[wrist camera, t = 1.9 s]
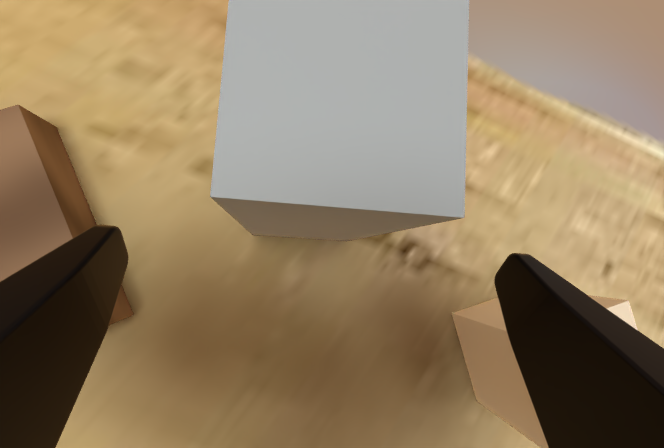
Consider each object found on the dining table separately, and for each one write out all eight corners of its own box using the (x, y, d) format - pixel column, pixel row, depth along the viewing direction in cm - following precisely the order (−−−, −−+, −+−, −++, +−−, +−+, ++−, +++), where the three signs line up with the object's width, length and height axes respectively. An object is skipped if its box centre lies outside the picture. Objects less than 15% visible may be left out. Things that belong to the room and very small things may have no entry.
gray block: (346, 241, 19) (464, 217, 7) (252, 234, 18) (210, 197, 6) (351, 151, 19) (469, -9, 8) (260, 141, 19) (234, -55, 7)
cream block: (551, 371, 20) (665, 418, 14) (476, 400, 19) (563, 464, 13) (526, 287, 20) (628, 300, 15) (450, 312, 20) (526, 337, 14)
